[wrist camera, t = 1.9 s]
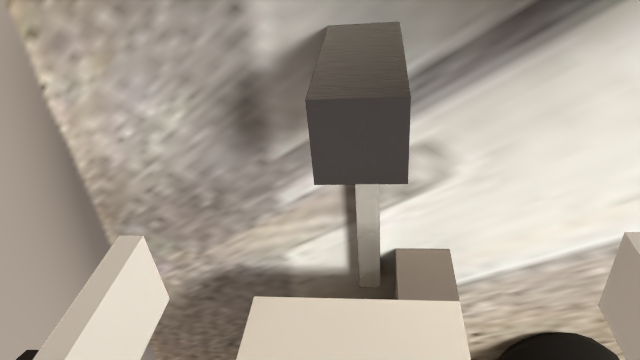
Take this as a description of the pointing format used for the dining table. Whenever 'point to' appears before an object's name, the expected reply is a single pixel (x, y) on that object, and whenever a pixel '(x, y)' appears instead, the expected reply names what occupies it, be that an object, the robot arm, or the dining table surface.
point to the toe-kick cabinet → (366, 320)
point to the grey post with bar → (361, 123)
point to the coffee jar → (558, 348)
